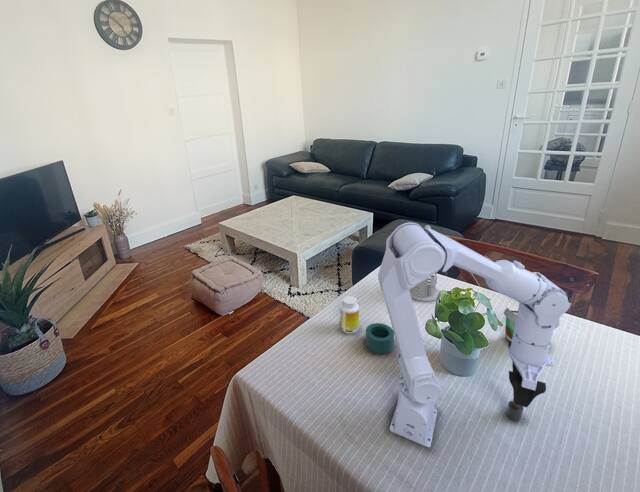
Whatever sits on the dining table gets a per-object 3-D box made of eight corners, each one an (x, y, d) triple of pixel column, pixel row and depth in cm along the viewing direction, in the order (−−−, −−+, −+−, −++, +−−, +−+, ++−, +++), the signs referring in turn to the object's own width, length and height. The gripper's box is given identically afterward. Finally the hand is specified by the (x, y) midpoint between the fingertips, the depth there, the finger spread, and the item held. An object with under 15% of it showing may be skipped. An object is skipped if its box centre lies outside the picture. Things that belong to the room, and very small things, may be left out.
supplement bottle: (362, 328, 101) (363, 299, 98) (350, 337, 98) (350, 307, 94) (348, 320, 105) (348, 292, 102) (336, 328, 102) (335, 299, 99)
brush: (521, 423, 70) (527, 396, 67) (506, 418, 71) (512, 391, 68) (520, 414, 72) (527, 387, 69) (506, 409, 73) (511, 382, 70)
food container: (507, 353, 88) (513, 321, 84) (498, 337, 93) (504, 306, 90) (562, 358, 85) (571, 325, 81) (550, 341, 90) (558, 310, 86)
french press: (429, 283, 120) (435, 218, 111) (446, 302, 109) (454, 231, 100) (402, 286, 120) (406, 221, 111) (416, 305, 109) (422, 235, 100)
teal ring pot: (389, 357, 89) (390, 344, 88) (362, 349, 93) (362, 335, 92) (396, 340, 95) (396, 327, 94) (370, 333, 99) (370, 320, 97)
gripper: (564, 369, 56) (548, 427, 61) (554, 319, 67) (541, 371, 72) (513, 355, 60) (502, 411, 65) (511, 310, 71) (502, 361, 76)
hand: (519, 389), depth 69 cm, fingers open, 7 cm apart
